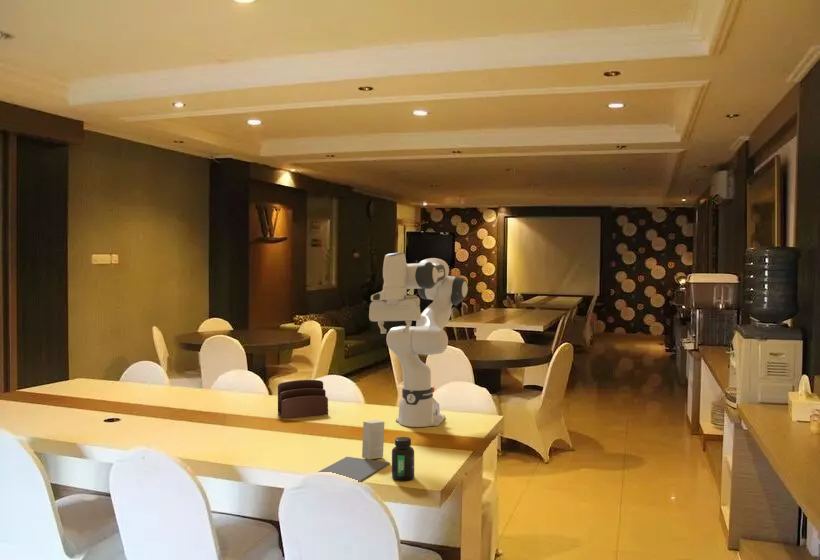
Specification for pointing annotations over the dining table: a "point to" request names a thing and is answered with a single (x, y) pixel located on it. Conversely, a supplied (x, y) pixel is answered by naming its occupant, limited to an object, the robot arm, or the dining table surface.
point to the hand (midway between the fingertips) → (394, 333)
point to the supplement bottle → (402, 460)
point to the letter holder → (302, 399)
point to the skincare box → (373, 439)
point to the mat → (356, 467)
